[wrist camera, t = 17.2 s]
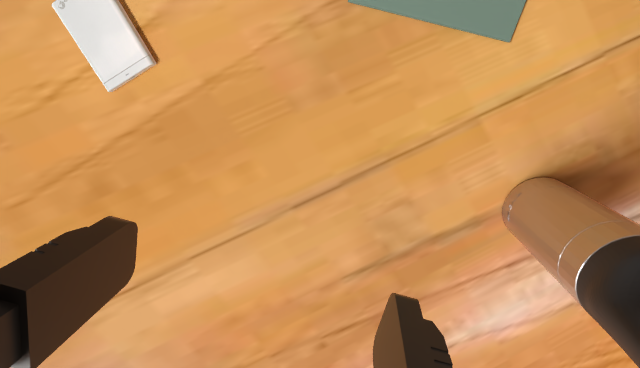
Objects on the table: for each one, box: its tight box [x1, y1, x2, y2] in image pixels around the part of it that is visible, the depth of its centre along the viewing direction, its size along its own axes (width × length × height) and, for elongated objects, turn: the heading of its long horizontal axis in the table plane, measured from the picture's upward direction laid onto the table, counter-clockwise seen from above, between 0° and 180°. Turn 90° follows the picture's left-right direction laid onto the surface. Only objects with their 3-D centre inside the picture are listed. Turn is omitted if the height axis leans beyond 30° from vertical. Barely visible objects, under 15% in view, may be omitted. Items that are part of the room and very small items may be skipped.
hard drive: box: [52, 0, 157, 92], centre depth 46 cm, size 2×8×12 cm
